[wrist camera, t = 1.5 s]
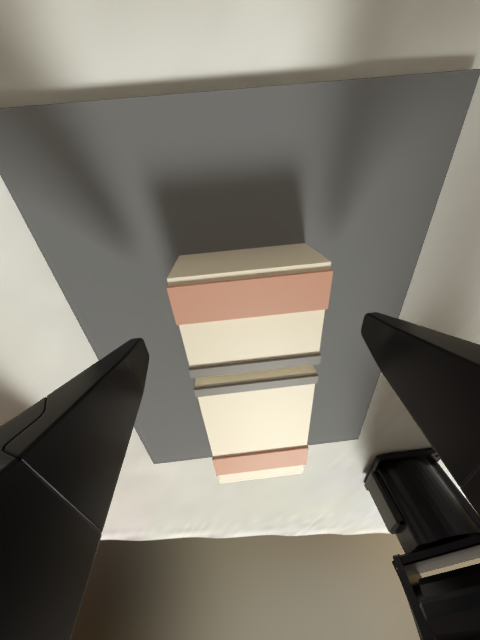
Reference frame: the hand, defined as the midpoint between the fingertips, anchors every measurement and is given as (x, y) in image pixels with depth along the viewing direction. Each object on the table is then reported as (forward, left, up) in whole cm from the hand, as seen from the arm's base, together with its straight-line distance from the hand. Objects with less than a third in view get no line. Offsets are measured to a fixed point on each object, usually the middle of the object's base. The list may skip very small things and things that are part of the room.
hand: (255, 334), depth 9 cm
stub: (0, 0, -3) cm, 3 cm away
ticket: (0, +8, -3) cm, 9 cm away
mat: (0, +3, -4) cm, 5 cm away
